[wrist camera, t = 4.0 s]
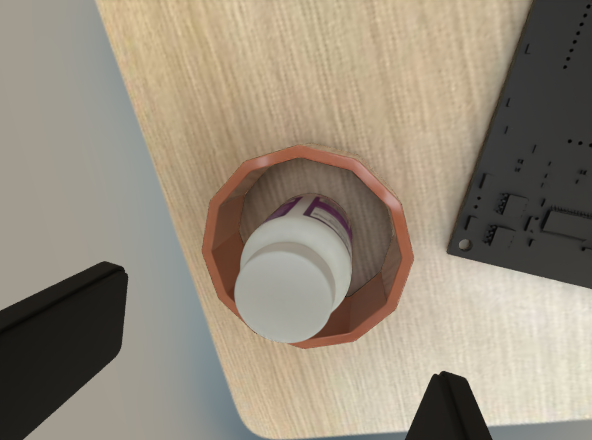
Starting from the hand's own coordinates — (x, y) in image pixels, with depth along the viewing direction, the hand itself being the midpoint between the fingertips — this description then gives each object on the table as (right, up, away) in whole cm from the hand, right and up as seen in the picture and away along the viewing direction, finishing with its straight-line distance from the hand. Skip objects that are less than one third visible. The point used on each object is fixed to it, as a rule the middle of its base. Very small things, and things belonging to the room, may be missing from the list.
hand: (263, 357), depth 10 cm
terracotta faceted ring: (+2, +3, +12) cm, 13 cm away
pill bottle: (+2, +3, +13) cm, 13 cm away
